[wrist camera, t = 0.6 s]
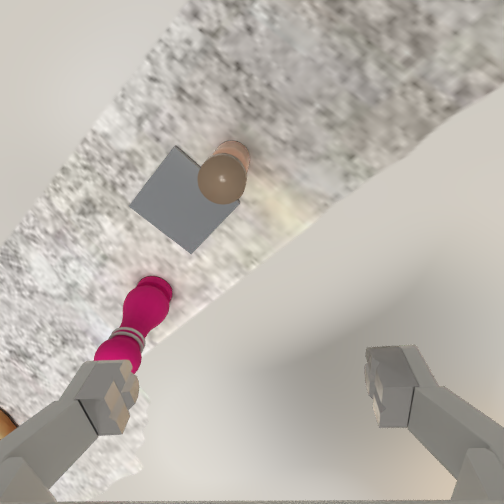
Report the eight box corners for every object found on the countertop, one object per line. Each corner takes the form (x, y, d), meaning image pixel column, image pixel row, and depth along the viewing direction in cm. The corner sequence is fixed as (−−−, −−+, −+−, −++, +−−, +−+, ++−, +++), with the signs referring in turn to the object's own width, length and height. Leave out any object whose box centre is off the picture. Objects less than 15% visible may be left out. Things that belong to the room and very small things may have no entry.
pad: (175, 145, 45) (174, 146, 44) (240, 201, 48) (239, 203, 48) (130, 204, 50) (128, 206, 49) (192, 251, 53) (191, 254, 52)
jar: (230, 130, 44) (218, 146, 34) (259, 158, 45) (255, 180, 36) (205, 159, 46) (187, 182, 36) (234, 185, 47) (224, 213, 38)
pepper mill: (126, 283, 57) (62, 376, 40) (158, 267, 55) (105, 356, 38) (152, 311, 60) (102, 409, 42) (183, 297, 58) (144, 393, 40)
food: (-18, 404, 77) (-36, 424, 73) (2, 402, 76) (-14, 422, 72) (12, 438, 83) (-2, 458, 79) (31, 437, 83) (18, 457, 78)
